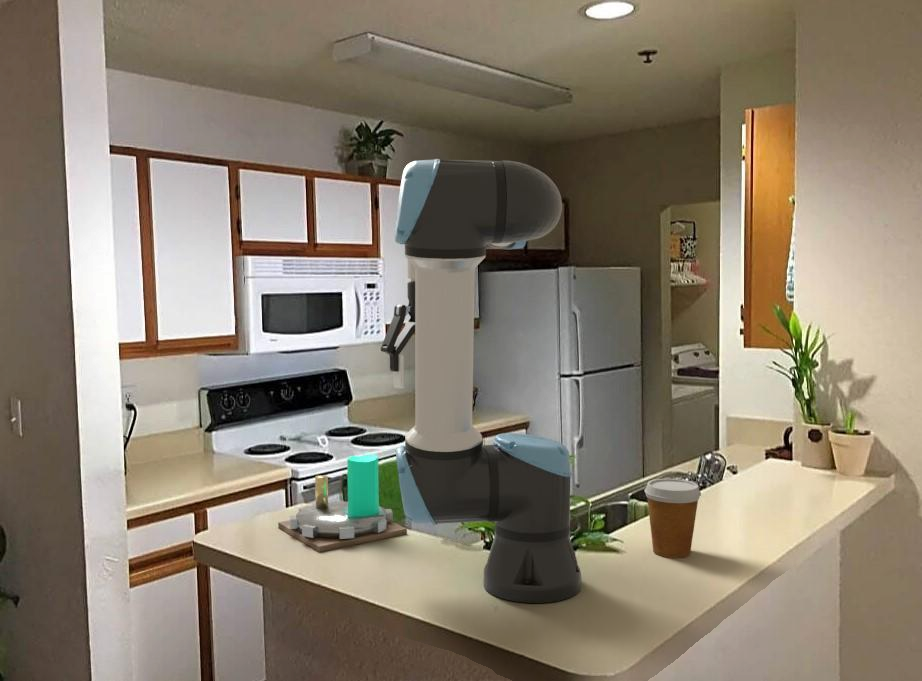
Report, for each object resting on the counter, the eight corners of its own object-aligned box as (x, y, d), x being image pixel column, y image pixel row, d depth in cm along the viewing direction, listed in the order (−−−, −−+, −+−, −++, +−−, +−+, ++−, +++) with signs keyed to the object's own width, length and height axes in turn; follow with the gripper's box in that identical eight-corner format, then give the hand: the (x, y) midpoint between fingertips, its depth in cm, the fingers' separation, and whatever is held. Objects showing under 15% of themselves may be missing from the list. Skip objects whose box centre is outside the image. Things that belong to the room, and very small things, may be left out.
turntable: (384, 507, 170) (383, 468, 169) (400, 534, 151) (399, 491, 151) (288, 513, 165) (287, 474, 165) (292, 543, 147) (291, 498, 146)
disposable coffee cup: (702, 563, 140) (703, 492, 139) (644, 559, 141) (644, 490, 141) (697, 545, 149) (698, 479, 148) (643, 542, 151) (644, 477, 150)
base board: (406, 533, 156) (406, 528, 156) (319, 552, 146) (319, 546, 146) (361, 512, 171) (361, 507, 171) (278, 527, 161) (278, 522, 160)
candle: (382, 508, 161) (381, 446, 160) (375, 516, 155) (375, 453, 154) (351, 507, 162) (350, 446, 161) (344, 515, 156) (343, 452, 155)
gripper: (464, 279, 178) (464, 378, 180) (362, 280, 163) (364, 388, 165) (486, 279, 172) (486, 381, 174) (382, 280, 157) (384, 392, 159)
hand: (426, 385), depth 169 cm, fingers open, 13 cm apart
